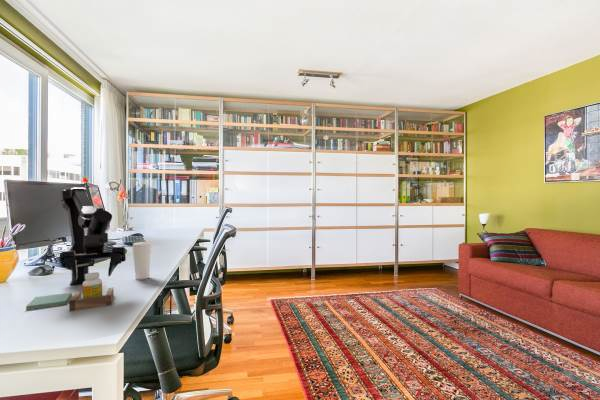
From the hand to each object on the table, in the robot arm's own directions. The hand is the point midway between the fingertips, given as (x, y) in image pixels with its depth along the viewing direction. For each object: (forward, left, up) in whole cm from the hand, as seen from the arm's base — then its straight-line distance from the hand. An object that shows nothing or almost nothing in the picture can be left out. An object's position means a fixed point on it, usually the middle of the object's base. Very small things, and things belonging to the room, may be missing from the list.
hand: (92, 277), depth 104 cm
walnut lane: (0, 0, -8) cm, 8 cm away
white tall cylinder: (-25, +17, -8) cm, 31 cm away
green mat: (-9, -12, -8) cm, 17 cm away
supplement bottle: (0, 0, -8) cm, 8 cm away
